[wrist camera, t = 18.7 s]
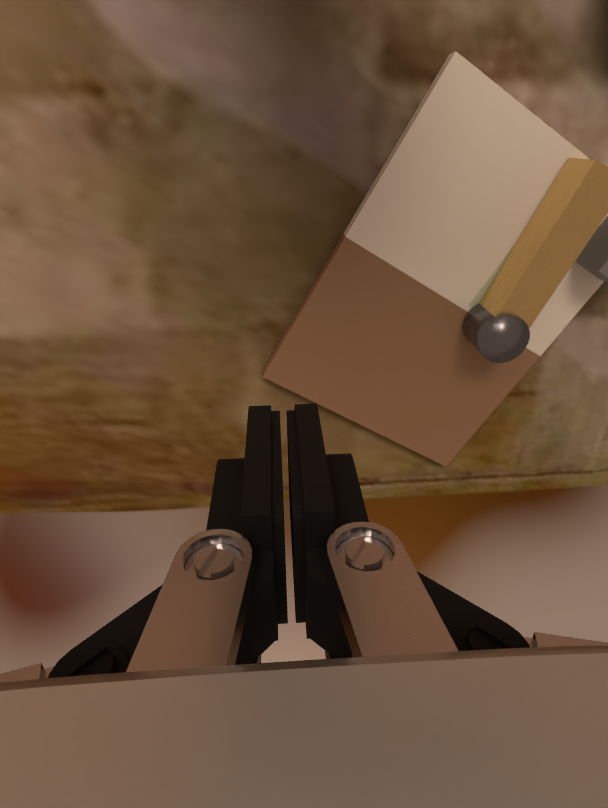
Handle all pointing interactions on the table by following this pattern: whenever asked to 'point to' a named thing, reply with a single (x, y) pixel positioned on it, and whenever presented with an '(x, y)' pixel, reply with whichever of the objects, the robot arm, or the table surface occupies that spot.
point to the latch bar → (539, 260)
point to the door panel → (434, 272)
